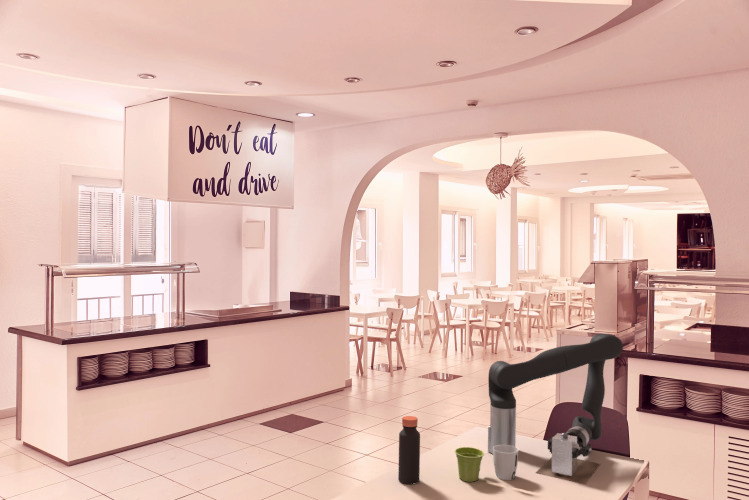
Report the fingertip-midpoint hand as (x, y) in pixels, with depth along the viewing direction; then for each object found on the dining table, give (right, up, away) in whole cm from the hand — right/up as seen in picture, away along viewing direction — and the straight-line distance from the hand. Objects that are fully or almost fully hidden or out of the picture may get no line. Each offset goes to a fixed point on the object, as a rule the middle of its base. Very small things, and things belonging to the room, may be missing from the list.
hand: (562, 453), depth 186 cm
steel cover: (+1, -7, +2) cm, 7 cm away
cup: (-19, -8, -2) cm, 21 cm away
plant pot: (-31, -8, -1) cm, 32 cm away
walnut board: (+4, -9, +7) cm, 12 cm away
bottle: (-51, -8, -4) cm, 51 cm away
